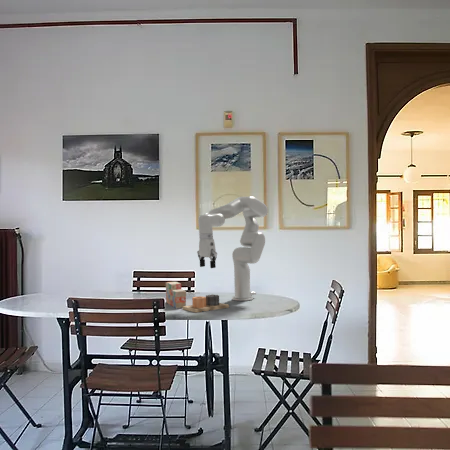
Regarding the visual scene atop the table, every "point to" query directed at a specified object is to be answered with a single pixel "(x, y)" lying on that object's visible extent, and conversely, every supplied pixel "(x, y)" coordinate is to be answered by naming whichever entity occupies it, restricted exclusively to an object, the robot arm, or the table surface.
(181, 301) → the stack of blocks
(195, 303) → the loose gear
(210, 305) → the gear board
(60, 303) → the table surface
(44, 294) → the table surface
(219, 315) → the table surface
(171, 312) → the table surface
